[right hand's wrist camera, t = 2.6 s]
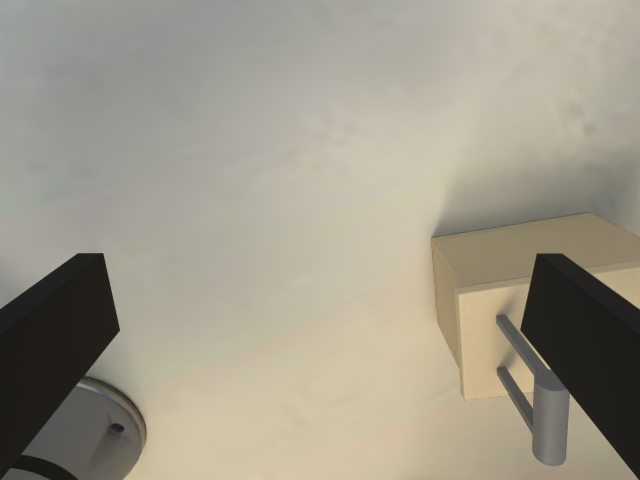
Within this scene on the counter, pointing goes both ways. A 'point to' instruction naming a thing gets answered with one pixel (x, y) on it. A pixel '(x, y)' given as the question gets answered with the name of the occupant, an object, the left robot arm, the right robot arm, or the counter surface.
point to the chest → (520, 256)
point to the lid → (521, 354)
